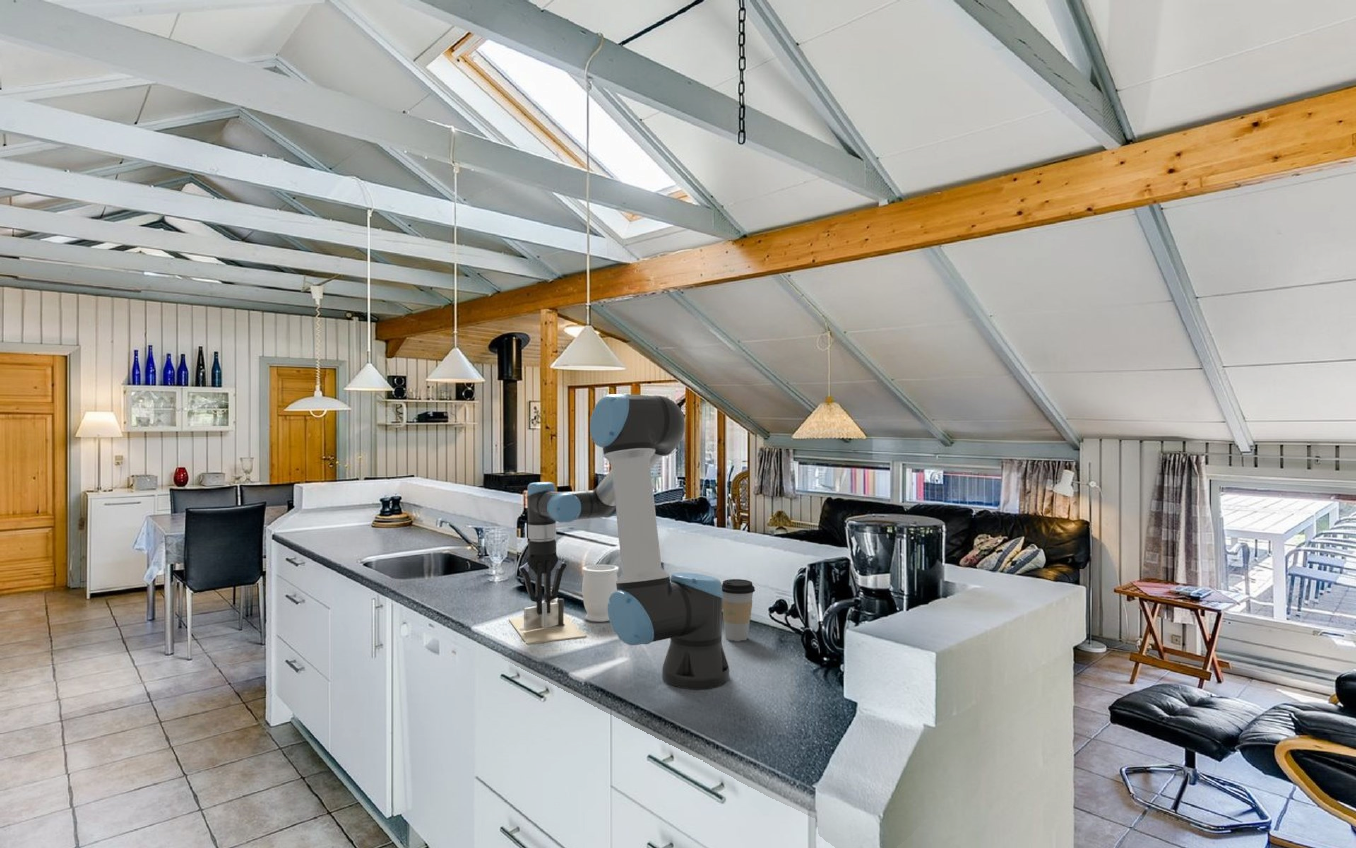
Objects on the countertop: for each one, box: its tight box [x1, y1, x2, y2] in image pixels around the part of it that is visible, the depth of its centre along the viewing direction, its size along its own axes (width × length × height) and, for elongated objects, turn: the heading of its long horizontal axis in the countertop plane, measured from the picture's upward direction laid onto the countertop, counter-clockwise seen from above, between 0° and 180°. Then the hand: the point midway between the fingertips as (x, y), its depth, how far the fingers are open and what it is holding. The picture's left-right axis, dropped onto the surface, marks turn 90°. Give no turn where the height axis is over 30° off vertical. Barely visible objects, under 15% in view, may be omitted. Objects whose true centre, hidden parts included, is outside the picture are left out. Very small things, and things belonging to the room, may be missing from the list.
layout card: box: [508, 614, 587, 645], centre depth 195 cm, size 24×16×1 cm, turn 24°
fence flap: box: [523, 598, 565, 631], centre depth 193 cm, size 12×2×7 cm, turn 130°
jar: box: [581, 563, 620, 623], centre depth 205 cm, size 11×10×15 cm
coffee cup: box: [722, 578, 756, 642], centre depth 188 cm, size 9×9×15 cm
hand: (543, 625), depth 190 cm, fingers closed
